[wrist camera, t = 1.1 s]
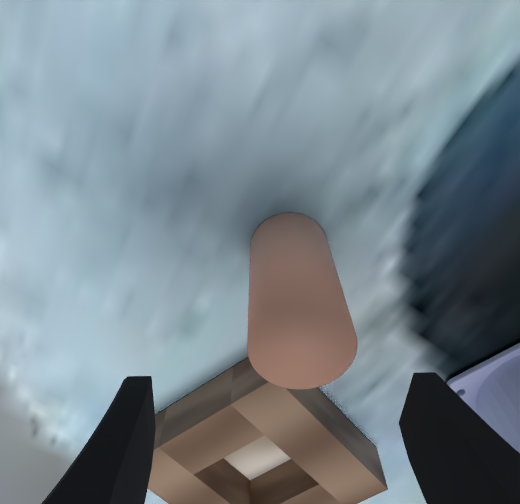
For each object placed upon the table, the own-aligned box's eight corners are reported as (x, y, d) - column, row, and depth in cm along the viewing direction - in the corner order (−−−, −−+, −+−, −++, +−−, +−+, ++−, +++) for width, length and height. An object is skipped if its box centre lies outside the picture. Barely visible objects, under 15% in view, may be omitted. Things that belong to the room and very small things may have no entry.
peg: (342, 253, 24) (378, 355, 17) (281, 294, 25) (290, 404, 18) (297, 197, 23) (315, 282, 15) (234, 242, 24) (224, 341, 17)
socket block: (376, 447, 31) (387, 489, 28) (244, 514, 34) (242, 556, 31) (273, 341, 27) (275, 378, 24) (132, 428, 30) (121, 469, 27)
